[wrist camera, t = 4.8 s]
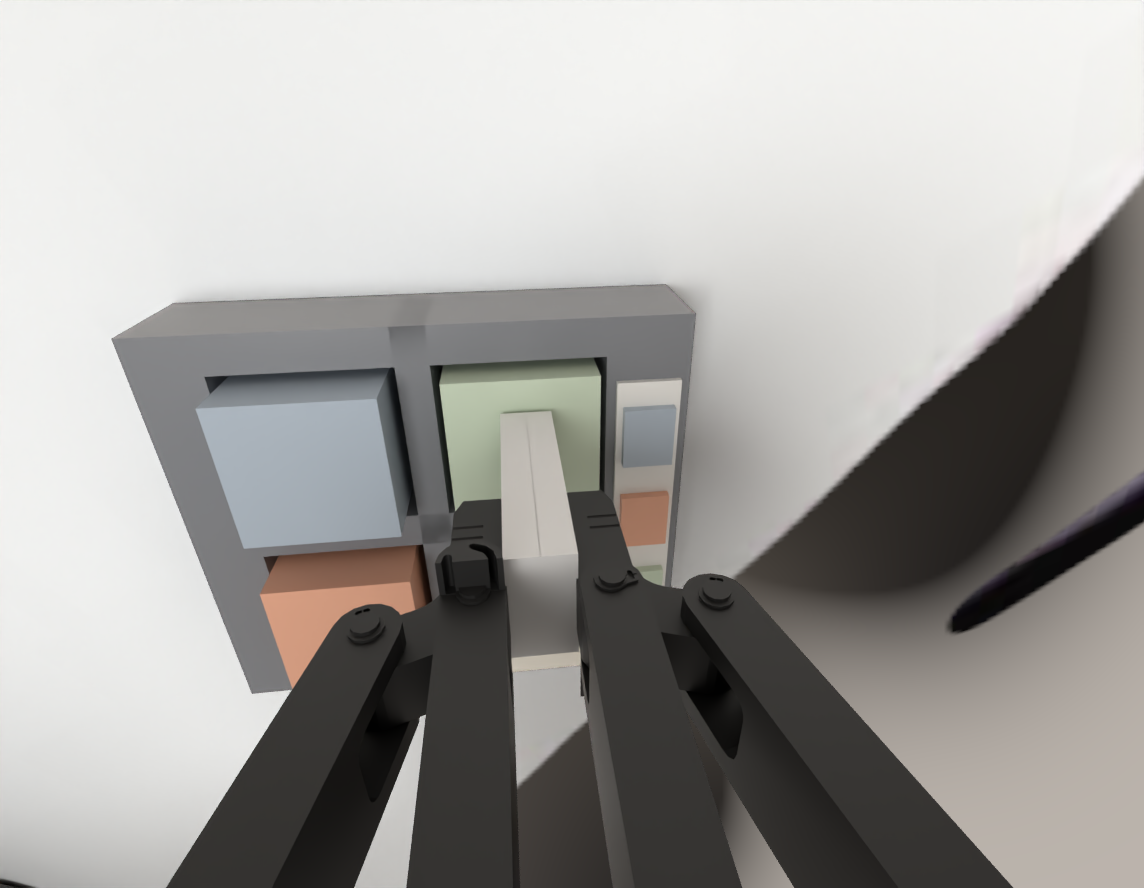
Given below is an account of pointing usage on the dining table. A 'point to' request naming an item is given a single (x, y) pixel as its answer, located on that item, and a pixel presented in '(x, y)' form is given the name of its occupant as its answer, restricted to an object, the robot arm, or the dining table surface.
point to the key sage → (519, 388)
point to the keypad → (413, 410)
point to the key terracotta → (337, 594)
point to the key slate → (310, 455)
